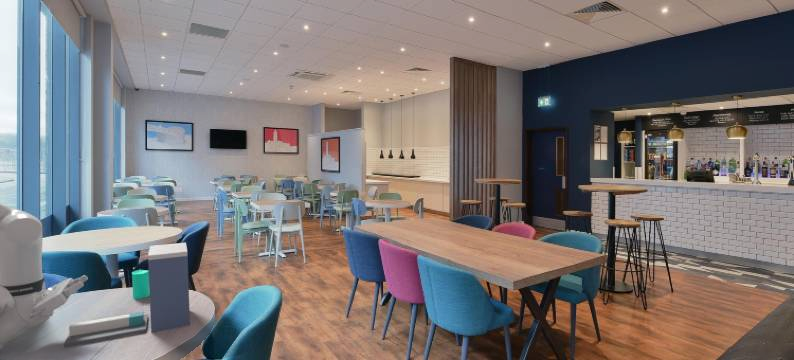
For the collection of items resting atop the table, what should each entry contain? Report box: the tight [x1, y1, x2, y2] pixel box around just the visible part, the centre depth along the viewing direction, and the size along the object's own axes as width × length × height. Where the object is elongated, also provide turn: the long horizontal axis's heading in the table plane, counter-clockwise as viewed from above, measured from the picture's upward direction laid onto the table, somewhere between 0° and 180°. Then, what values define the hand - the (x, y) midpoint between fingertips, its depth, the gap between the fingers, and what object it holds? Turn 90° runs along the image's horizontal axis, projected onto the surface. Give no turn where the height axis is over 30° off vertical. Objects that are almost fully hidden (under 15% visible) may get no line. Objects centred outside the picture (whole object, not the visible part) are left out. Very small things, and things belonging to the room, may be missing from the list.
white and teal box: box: [68, 311, 145, 336], centre depth 135 cm, size 20×4×3 cm, turn 119°
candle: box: [131, 269, 150, 300], centre depth 168 cm, size 6×6×12 cm
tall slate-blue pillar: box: [147, 242, 191, 333], centre depth 143 cm, size 12×16×26 cm
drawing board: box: [63, 314, 149, 348], centre depth 135 cm, size 22×14×1 cm, turn 119°
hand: (84, 280), depth 131 cm, fingers open, 6 cm apart
